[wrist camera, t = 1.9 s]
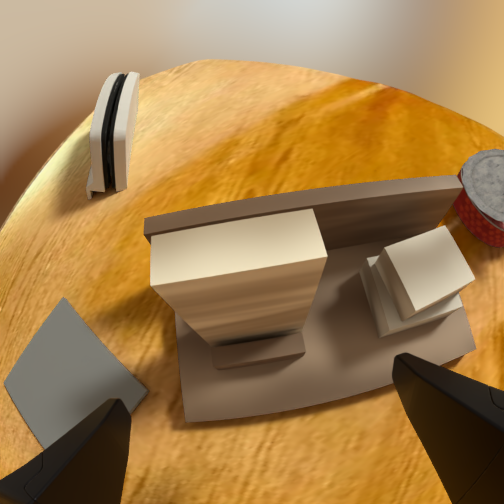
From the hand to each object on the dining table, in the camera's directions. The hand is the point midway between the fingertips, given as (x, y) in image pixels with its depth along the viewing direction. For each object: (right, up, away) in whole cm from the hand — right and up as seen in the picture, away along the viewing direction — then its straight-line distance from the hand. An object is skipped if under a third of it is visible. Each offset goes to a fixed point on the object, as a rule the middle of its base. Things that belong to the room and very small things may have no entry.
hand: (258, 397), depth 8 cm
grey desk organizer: (+5, -1, +13) cm, 14 cm away
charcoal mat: (-16, -7, +11) cm, 21 cm away
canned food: (+26, +9, +17) cm, 32 cm away
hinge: (-16, +18, +25) cm, 35 cm away
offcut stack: (+11, +1, +12) cm, 16 cm away
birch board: (0, -1, +11) cm, 11 cm away
